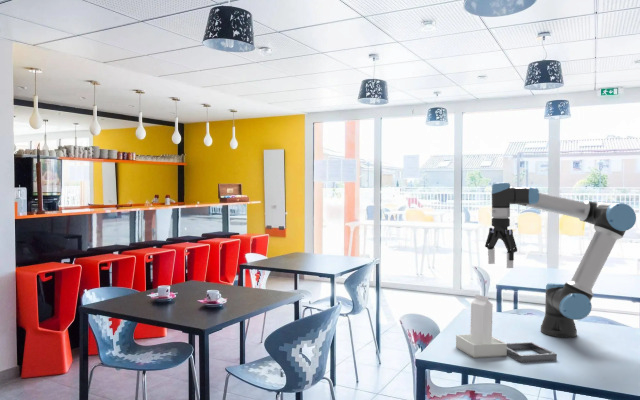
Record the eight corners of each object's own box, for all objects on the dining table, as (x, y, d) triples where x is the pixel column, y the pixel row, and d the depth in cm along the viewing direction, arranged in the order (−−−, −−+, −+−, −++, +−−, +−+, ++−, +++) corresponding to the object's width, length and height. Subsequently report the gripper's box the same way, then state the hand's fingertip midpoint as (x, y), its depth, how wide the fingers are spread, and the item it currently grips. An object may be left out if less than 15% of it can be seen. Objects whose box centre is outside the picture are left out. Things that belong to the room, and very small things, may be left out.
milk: (482, 353, 199) (483, 297, 199) (469, 349, 204) (470, 295, 204) (491, 350, 203) (493, 296, 202) (479, 346, 208) (480, 293, 207)
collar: (531, 348, 209) (531, 342, 209) (556, 360, 194) (556, 353, 194) (497, 349, 206) (497, 343, 206) (520, 362, 191) (521, 355, 191)
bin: (486, 345, 212) (487, 333, 212) (506, 356, 198) (506, 343, 198) (455, 347, 209) (456, 335, 209) (473, 358, 195) (473, 345, 195)
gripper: (477, 216, 233) (477, 262, 233) (510, 219, 209) (510, 270, 209) (491, 216, 235) (491, 261, 235) (526, 218, 211) (526, 269, 211)
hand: (500, 265), depth 222 cm, fingers open, 13 cm apart
